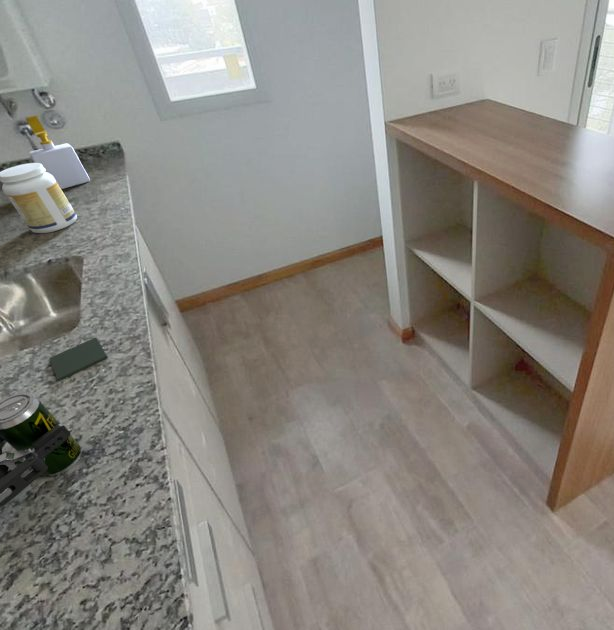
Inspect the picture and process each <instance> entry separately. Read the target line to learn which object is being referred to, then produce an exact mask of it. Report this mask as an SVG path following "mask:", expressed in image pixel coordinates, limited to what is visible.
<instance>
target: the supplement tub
mask: <svg viewBox="0 0 614 630" xmlns="http://www.w3.org/2000/svg"><path fill="white" fill-rule="evenodd" d="M45 171H46V169H45V168H44V167H43V166H42V164H40V163H34V162H29V163H23V164H18V165H15V166H11V167H8V168H5V169H3V170H1V171H0V182H1V183H2V187H1V188H2V192H3V193H4V195H5V196H6V197H7V198H8V200H9V202H11V204H12V206H13V207H14V209H15V210H16V211H17V213H18V214H19V215H20V217H21V218H22V220H23V222H24V223H25V224H26V226H27V227H28V229H29V230H30V231H31V232H32V233H34V234H49V233H53V232H58V231H60V230H63V229H65V228H67V227H70V226H71V225H73V224H74V223H76V221H77V219H78V215H77V213H76V211H75V210H74V208H73V206H72V204H71V203H70V202H69V199H68V198H67V196H66V195H65V193H64V192H63V189H61V188H60V187H59V185H58V183H57V182H56V180H55V178H54V177H53V176H52V175H51V174H49V173H47V172H45Z"/></svg>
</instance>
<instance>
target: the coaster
mask: <svg viewBox="0 0 614 630" xmlns="http://www.w3.org/2000/svg"><path fill="white" fill-rule="evenodd" d="M108 358H109V357H108V355H107V353H106V352H105V349H104V348H103V346H102V345H101V343H100V341H99V340H98V338H97V336H94V337H93V338H91V339H88V340H86V341H83V342H82V343H79V344H78V345H74V346H73V347H71V348H67V349H66V350H64V351H61V352H60V353H57V354H55V355H52V356H50V357H49V358H48V359H49V362H50V365H51V367H52V370H53V372H54V375H55V376H56V380H57V381H58V382H61V381H62V380H64V379H67V378H69V377H71V376H73V375H75V374H77V373H79V372H81V371H84V370H86V369H87V368H90V367H92V366H94V365H96V364H97V363H101V362H102V361H104V360H107V359H108Z"/></svg>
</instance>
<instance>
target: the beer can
mask: <svg viewBox="0 0 614 630" xmlns="http://www.w3.org/2000/svg"><path fill="white" fill-rule="evenodd" d="M58 424H61V423H60V421H59V420H57V418H56V417H55V416H54V415H53V414H52V412H50V410H49V409H48V408H47V407H46V406H45V405H44V404H43V403H42V402H41V401H40V399H38V398H37V397H36V396H33V395H31V394H30V393H26V392H23V393H16V394H13V395H10V396H8V397H6V398H3V399H2V400H1V401H0V436H1V437H2V438H3V439H4V440H5V441H6V443H7V444H9V445H10V446H11V448H13V449H14V450H15V452H17V451H20V450H22V449H25V448H27V447H30V446H33V445H32V443H34V442H35V441H36V440H38V439H39V438H40V437H42V436H43V435H44V434H46V433H47V432H48V431H50V430H51V429H52V428H54V427H55V426H56V425H58ZM33 447H34V446H33ZM81 457H82V446H81V444H79V442H78V441H77V440H76V439H75V438H74V437H73V436H72V435H71V434H70V436H69V437H68V438H67V439H66V441H64V442H63V443H62V444H60V445H59V446H58V447H57V448H55V449H54V450H53V451H51V452H50V453H49V454H48V455H47V456H46V457H45V460H44V462H45V465H46V466H47V467H48V469H47V470H46V471H45V472H44V473H43V474H42V475H44V476H50V477H55V476H59V475H61V474H64V473H66V472H67V471H69V470H71V469H72V468H73V467H74V466H76V464H77V463H78V462H79V461H80V459H81ZM24 460H26V458H24Z"/></svg>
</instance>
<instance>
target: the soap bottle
mask: <svg viewBox="0 0 614 630" xmlns="http://www.w3.org/2000/svg"><path fill="white" fill-rule="evenodd" d="M25 120H26V122H27V124H28V125H29V127H30V129H31V131H32V133H33V134H34V135H35V136H36V137H37V138H39V139H40V140H41V141H40V142H39V145H40V146H41V148H40V149H36V150H32V151H29V152H28V155H29V157H30V158H31V160H32V163H40V164H42V166H43V167H44V168H45V169H46V171H45V172H47V173H49V174H51V175H52V176H53V177H54V178H55V180H56V182H57V183H58V185H59V187H60V188H61V190H64V189H68V188H71V187H74V186H78V185H82V184H85V183H89V182H91V179H90V177H89V174H88V173H87V171H86V169H85V167H84V166H83V164H82V162H81V160H80V158H79V156H78V154H77V153H76V151H75V149H74V148H73V146H72V145H70V144H69V143H67V142H66V143H62V144H57V145H55V144H54V142H53V140H52V139H48V137H47V136H48V134H47V133H48V132H47V131H46V129H45V128H44V127H43V125H42V123H41V121H40V119H39V117H38V115H37V114H35V115H31V116H26V117H25Z"/></svg>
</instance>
